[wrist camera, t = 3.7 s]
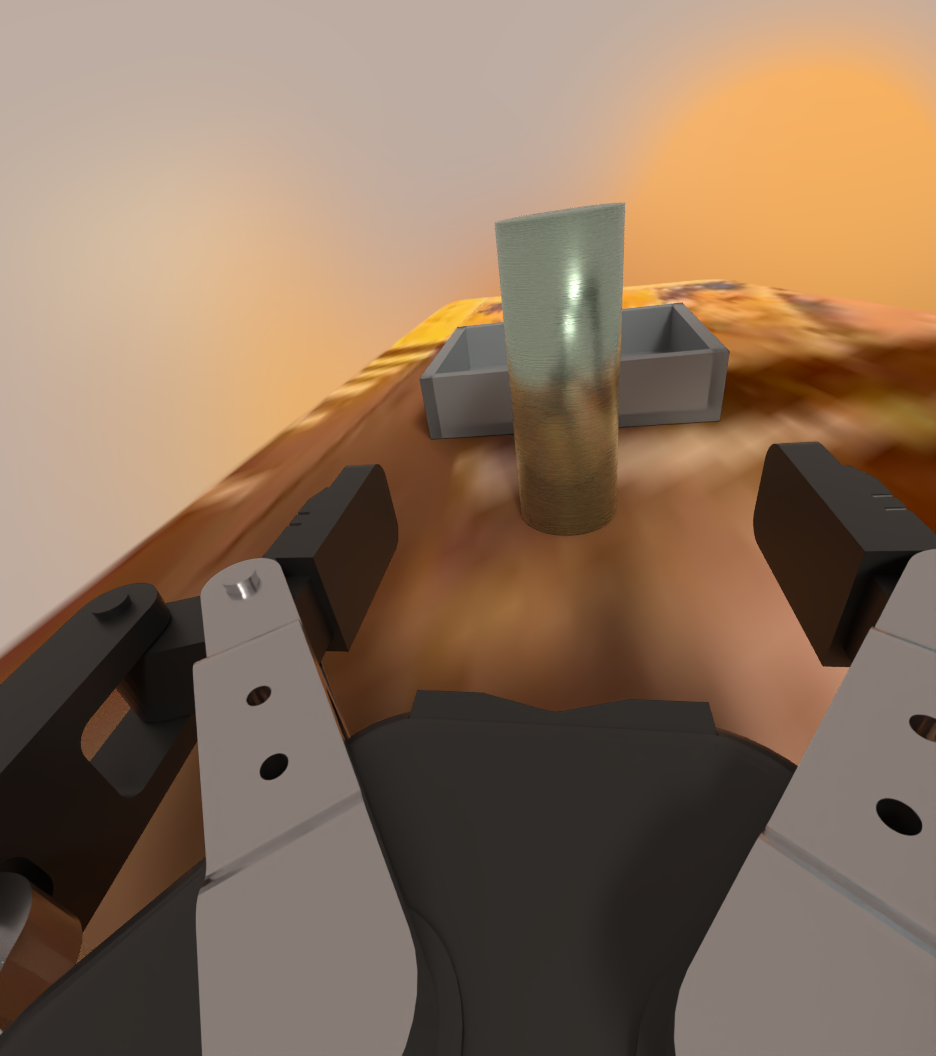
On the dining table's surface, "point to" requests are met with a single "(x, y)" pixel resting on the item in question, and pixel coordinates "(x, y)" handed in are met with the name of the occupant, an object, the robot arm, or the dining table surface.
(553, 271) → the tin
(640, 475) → the dining table surface
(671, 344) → the tote
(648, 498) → the dining table surface
